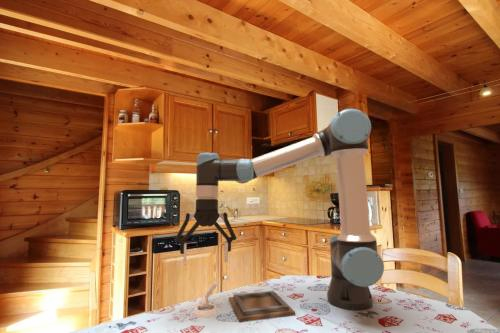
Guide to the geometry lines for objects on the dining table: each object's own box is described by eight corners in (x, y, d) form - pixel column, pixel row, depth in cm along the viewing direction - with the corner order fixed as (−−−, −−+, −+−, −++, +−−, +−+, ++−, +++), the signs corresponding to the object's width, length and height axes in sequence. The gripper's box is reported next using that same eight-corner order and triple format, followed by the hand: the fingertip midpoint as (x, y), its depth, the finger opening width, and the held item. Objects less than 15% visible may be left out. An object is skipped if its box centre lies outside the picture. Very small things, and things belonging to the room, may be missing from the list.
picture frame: (275, 295, 103) (275, 289, 103) (295, 315, 86) (295, 307, 86) (228, 300, 98) (228, 293, 99) (239, 322, 81) (239, 314, 81)
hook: (231, 300, 85) (212, 288, 84) (209, 330, 85) (190, 319, 84) (230, 287, 92) (213, 276, 91) (210, 315, 93) (193, 304, 92)
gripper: (240, 198, 99) (239, 258, 97) (169, 198, 93) (166, 262, 91) (245, 198, 92) (244, 263, 90) (168, 198, 86) (165, 268, 83)
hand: (205, 263), depth 90 cm, fingers open, 13 cm apart
